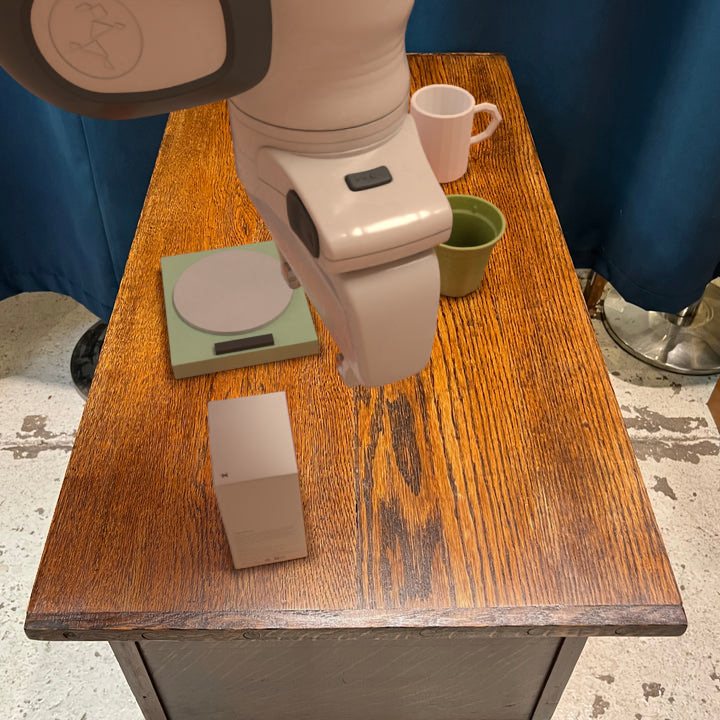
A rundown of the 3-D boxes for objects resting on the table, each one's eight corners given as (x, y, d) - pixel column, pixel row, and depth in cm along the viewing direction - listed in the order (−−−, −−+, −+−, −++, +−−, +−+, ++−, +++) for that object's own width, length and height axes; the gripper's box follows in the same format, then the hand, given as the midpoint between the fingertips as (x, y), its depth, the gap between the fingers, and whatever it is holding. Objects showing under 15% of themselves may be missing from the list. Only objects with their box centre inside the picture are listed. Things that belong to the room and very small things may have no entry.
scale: (175, 379, 77) (170, 361, 75) (163, 271, 88) (159, 253, 86) (319, 353, 79) (317, 335, 77) (290, 251, 90) (288, 233, 88)
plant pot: (491, 314, 83) (502, 254, 77) (407, 302, 84) (411, 242, 78) (498, 259, 89) (508, 199, 83) (419, 249, 90) (424, 189, 84)
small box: (309, 558, 64) (300, 473, 54) (234, 571, 63) (211, 488, 53) (296, 478, 69) (285, 388, 59) (227, 489, 68) (204, 400, 58)
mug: (501, 180, 100) (512, 112, 92) (412, 185, 99) (416, 118, 92) (488, 146, 105) (497, 80, 98) (403, 151, 104) (406, 85, 97)
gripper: (200, 57, 43) (227, 243, 54) (342, 273, 31) (342, 461, 41) (301, 37, 45) (308, 222, 56) (473, 235, 33) (442, 424, 43)
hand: (324, 326), depth 48 cm, fingers open, 8 cm apart
